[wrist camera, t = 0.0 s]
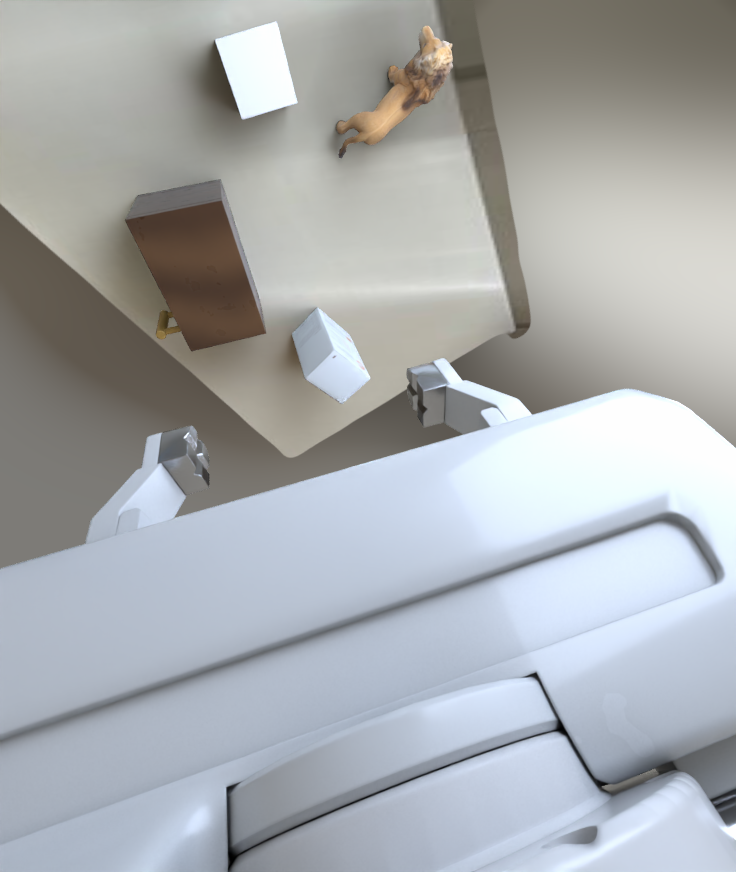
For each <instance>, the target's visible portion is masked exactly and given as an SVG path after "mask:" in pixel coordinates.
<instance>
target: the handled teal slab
mask: <svg viewBox="0 0 736 872" xmlns="http://www.w3.org/2000/svg"><path fill="white" fill-rule="evenodd" d="M172 317H174V316H173V314H172V312H168V311H166V310H162V311H161V312H160V315H159V320H158V325H157V330H156V336H157V338H159V339H165V338H166V335H167V334H171V333H176V332H180V331H181V330H180V328H179V326H175V327H170V328H168V322H169V318H172Z"/></svg>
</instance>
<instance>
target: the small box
mask: <svg viewBox="0 0 736 872" xmlns="http://www.w3.org/2000/svg"><path fill="white" fill-rule="evenodd" d="M292 337H293V340H294V343H295V347H296V350H297V353H298V357H299V360H300V364H301V367H302V371H303V374H304V378H305V380H307V381H308V382H310V383H311V384H313V385H314V386H316V387H317V388H319V389H320V390H322V391H323V392H324V393H326V394H327V395H329V396H330V397H332V398H333V399H335V400H336V401H338V402H339V403H341V404H343V403H344V402H345V401H346V400H347V399H348V398H349V397H351V396H352V395H353V394H354V393H355V392H356V391H357V390H358V389H359V388H360V387H362V386H363V385H364V384H365V383H366V382H367V381H368V380H370V377H369V375H368V372H367V370H366V368H365V366H364V364H363V362H362V360H361V358H360V355H359V353H358V351H357V349H356V347H355V345H354V343H353V341H352V339H351V337H350V335H349V334H348V333H347V332H346V331H345V330H343V329H342V328H341V327H340V326H339V325H338V324H337V323H335V322H334V321H333V320H332V319H331V318H330V317H328V316H327V315H326V314H325V313H324V312H322V311H321V310H320V309H319V308H316V309H315V310H314V311H313V312H312V313H311V314H310V315H309V316H308V317H307V318H306V320H305V321H304V322H303V323H302V324H301V325H300V326H299V327H298V328H297V329H296V330H295V331H294V332H293V333H292Z"/></svg>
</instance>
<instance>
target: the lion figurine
mask: <svg viewBox="0 0 736 872" xmlns="http://www.w3.org/2000/svg"><path fill="white" fill-rule="evenodd" d="M419 43H420V50H419V51H418V52H417V53H416V55H415V56H414V58H413V59H412V60H411V61H410V62H409V63H408V65H406V67H405V69H400V70H398V67H396V66H390V68H389V72H388V77H389V80H390V82H391V83H394V85H395V86H394V87H393V88H391V89H390V91H389V92H388V93H387V94H386V95H385V96H384V98H383V99H382V100H381V101H380V103H379V104H378V106H377V107H376V109H375V110H374V111H373V112H361V113H358V114H356V115H354V116H353V117H351V118H350V119H349V120H348V121H347V122H344V121H339V122H338V124H337V126H336V128H337V131H338V133H339V134H344V133H346V132H347V131H348V130H349V129H352V128H354V129H356V130H357V131H358V132H359V134H358V135H357V136H355V137H351V138H348V139H346V140H345V142H344V143H343V146H342V148H341V149H340V150H339V158H342V157H343V155H344V154H345V152H346V148H347V145H348V144H351V143H357V142H362V141H364V142H365V143H366V144H368V145H374V144H376V143H378V142H380V141H381V140H382V139H383V138H384V137H385V136H386V135H387V133H388V132H389V131H390V130H391V129H392V128H393V127H395V126H396V125H397V124H399V123H400V122H401V121H403V120H404V119H405V118H406V117H407V116H408V115H409V114H410V113H411V112H412V111H413V110H414V109H415V108H416V107H418V106H420V105H421V104H426V103H428V102H430V100H431V99H433V98H434V95H435V94H436V92H437V91H439V89H440V88H441V87H442V86H443V85H444V81H445V80H446V78H447V76H448V75H449V73H450V70H451V69H452V67H453V66H452V60H453V57H452V52H451V48H452V43H451V44H449V43H448V42H445V41H442V42H441V41H440V40H439V39H438V38H435V37H434V35H433V31H432V30H431V28H430V27H429V26H424V27H423V28H422V30H421V32H420V34H419Z"/></svg>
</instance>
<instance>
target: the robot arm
mask: <svg viewBox="0 0 736 872" xmlns="http://www.w3.org/2000/svg"><path fill="white" fill-rule="evenodd" d="M407 379H408V380H409V382H410V383H409V385H408V386H407V391H408V397H409V401H410V403H411V406H412V407H413V409H414V410H416V411H417V415H418V418H419V420H420V422H421V423H422V425H423V427H428V426H431V425H436V424H440V423H445V424H447V425H448V426H450V427H452V428H453V429H455V430H457V431H459V432H460V433H462V434H464V435H461V436H457V437H454V438H450V439H447V440H443V441H440V442H437V443H434V444H430V445H426V446H423V447H419V448H416V449H412V450H409V451H405V452H402V453H399V454H396V455H392V456H388V457H385V458H382V459H378V460H374V461H371V462H367V463H364V464H361V465H357V466H354V467H350V468H347V469H343V470H340V471H336V472H333V473H330V474H326V475H322V476H319V477H315V478H312V479H309V480H305V481H302V482H298V483H295V484H291V485H288V486H284V487H281V488H277V489H274V490H270V491H267V492H263V493H260V494H256V495H253V496H250V497H246V498H243V499H239V500H236V501H232V502H229V503H225V504H222V505H218V506H215V507H211V508H208V509H205V510H201V511H198V512H194V513H191V514H187V515H184V516H180V517H177V518H174V516H175V515H176V513H177V511H178V510H179V508H180V506H181V504H182V503H183V501H184V500H185V498H186V495H189V494H192V493H195V492H198V491H202V490H205V489H208V488H209V473H208V472H207V470H206V469H207V468H208V466H209V456H208V452H207V449H206V447H205V445H204V443H203V442H202V441H200V440H198V439H197V432H196V430H195V429H194V427H193V426H187V427H182V428H178V429H174V430H170V431H166V432H163V433H158V434H154V435H150V436H148V438H147V439H146V445H145V450H144V456H143V462H142V467H141V469H138V470H136V471H135V473H134V474H133V475H132V476H131V477H130V478H129V479H128V480H127V481H126V483H124V485H123V486H122V487H121V488H120V489H119V490H118V491H117V492H116V493H115V494H114V495H113V496H112V498H111V499H110V500H109V501H108V502H107V503H106V504H105V505H104V506H103V507H102V508H101V509H100V511H99V512H98V513H97V514H96V515H95V516H94V517H93V518H92V519H91V522H90V526H89V530H88V534H87V537H86V541H85V544H83V545H80V546H76V547H73V548H69V549H66V550H62V551H59V552H56V553H52V554H49V555H45V556H42V557H38V558H35V559H32V560H28V561H24V562H21V563H17V564H14V565H10V566H7V567H4V568H0V872H736V448H735V447H733V446H732V445H731V444H730V443H729V442H728V441H726V440H725V439H724V438H723V437H722V436H721V435H720V434H718V433H717V432H716V431H715V430H714V429H713V428H711V427H710V426H709V425H708V424H707V423H705V422H704V421H703V420H702V419H701V418H699V417H698V416H697V415H696V414H694V413H693V412H692V411H691V410H689V409H688V408H686V407H685V406H683V405H682V404H680V403H678V402H676V401H673V400H670V399H666V398H664V397H660V396H657V395H653V394H650V393H646V392H643V391H638V390H634V389H621V390H616V391H613V392H609V393H606V394H603V395H599V396H596V397H592V398H589V399H585V400H582V401H578V402H575V403H571V404H568V405H565V406H561V407H558V408H555V409H551V410H547V411H544V412H540V413H537V414H534V415H532V414H531V413H530V412H529V411H528V410H527V409H526V408H525V406H524V405H523V404H522V403H521V402H520V401H519V400H518V399H516V398H514V397H511V396H508V395H505V394H503V393H500V392H497V391H494V390H492V389H489V388H486V387H483V386H481V385H478V384H475V383H472V382H470V381H467V380H465V381H462V379H461V378H460V377H459V376H458V374H457V373H456V372H455V370H454V369H453V368H452V367H451V365H450V364H449V363H448V361H447V360H446V359H444V358H442V359H439V360H436V361H432V362H430V363H426V364H423V365H419V366H415V367H411V368H408V369H407ZM654 768H655V769H656V771H657V772H651V773H647V774H643V775H640V774H642V773H644V772H647V771H650V770H652V769H654ZM638 775H639V776H638ZM605 785H607V786H605ZM602 786H605V787H602Z"/></svg>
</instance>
